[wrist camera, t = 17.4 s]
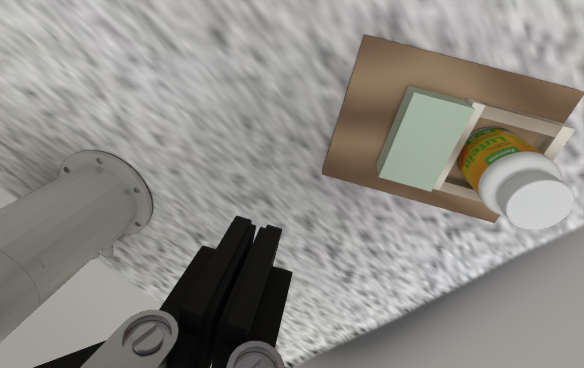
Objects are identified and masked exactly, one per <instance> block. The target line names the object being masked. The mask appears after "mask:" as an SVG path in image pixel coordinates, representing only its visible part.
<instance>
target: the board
mask: <svg viewBox="0 0 584 368" xmlns="http://www.w3.org/2000/svg"><path fill="white" fill-rule="evenodd" d="M408 86H412V87H416V88H420V89H424V90H427V91H431V92H435V93H439V94H442V95H446V96H450V97H454V98H457V99H461V100H464V101H465V102H467V103H468V104H469V105H471V106H472V107H474V108H475V110H474V112H473V114H472V116H471V118H470V120H469V122H468V124H467V125H466V127H465V129H464V131H463V133H462V135H461V137H460V139H459V141H458V142H457V144H456V146H455V148H454V150H453V152H452V154H451V156H450V157H449V159H448V161H447V163H446V165H445V167H444V169H443V171H442V173H441V174H440V176H439V178H438V180H437V182H436V184H435V186H434V188H433V189H432V191H431V192H430V191H427V190H423V189H420V188H416V187H412V186H409V185H405V184H402V183H398V182H395V181H391V180H387V179H384V178H380V177H379V175H378V169H377V161H378V159H379V156H380V154H381V152H382V149H383V147H384V144H385V142H386V139H387V137H388V134H389V132H390V129H391V127H392V124H393V122H394V119H395V117H396V114H397V112H398V109H399V107H400V104H401V102H402V100H403V97H404V95H405V92H406V90H407V87H408ZM583 95H584V92H583V91H580V90H576V89H573V88H569V87H565V86H561V85H557V84H553V83H550V82H546V81H542V80H538V79H534V78H530V77H527V76H523V75H519V74H515V73H511V72H507V71H503V70H500V69H496V68H492V67H488V66H484V65H480V64H477V63H473V62H469V61H465V60H461V59H457V58H453V57H450V56H446V55H442V54H438V53H434V52H430V51H427V50H423V49H419V48H415V47H411V46H407V45H403V44H400V43H396V42H392V41H388V40H384V39H380V38H377V37H373V36H369V35H365V34H364V37H363V40H362V43H361V47H360V50H359V53H358V56H357V60H356V63H355V66H354V69H353V73H352V76H351V79H350V82H349V86H348V89H347V92H346V95H345V99H344V102H343V105H342V108H341V112H340V115H339V118H338V121H337V125H336V128H335V131H334V134H333V138H332V141H331V144H330V147H329V151H328V154H327V157H326V160H325V163H324V167H323V170H322V174H323V175H326V176H330V177H333V178H337V179H340V180H344V181H348V182H351V183H355V184H358V185H362V186H365V187H369V188H372V189H376V190H379V191H383V192H387V193H390V194H394V195H397V196H401V197H404V198H408V199H411V200H415V201H418V202H422V203H426V204H429V205H433V206H436V207H440V208H443V209H447V210H450V211H454V212H457V213H461V214H465V215H468V216H472V217H475V218H479V219H482V220H486V221H489V222H493V223H495V222H496V220H497V219H498V217H499V216H500V214H497V213H495V212H493V211H491V210H490V209H489V208H488V207H487V206H486V205H485V204H484V203H483V202H482V200H481V199H480V197H479V196H478V195H477V193H476V192H475V190H474V189H473V187H472V186H471V185H470V183H469V182H468V181H467V179H466V178H465V176H464V175H463V174H462V172H461V171H460V169H459V167H458V165H457V162H456V159H457V157H458V155H459V153H460V152H461V150H462V148H463V146H464V144H465V142H466V141H467V139H468V137H469V135H470V134H471V133H473V132H475V131H477V130H479V129H482V128H486V127H500V128H504V129H507V130H509V131H511V132H513V133H514V134H516V135H517V136H518V137H520V138H521V139H522V140H524V141H525V142H527V143H528V144H530V145H531V146H533V147H534V148H536V149H537V150H539V151H540V152H541V153H543V154H544V155H545V156H547V157H548V158H550V159H551V160H552V161H553V160H554V159H555V157H556V156H557V154H558V153H559V152H560V150H561V149H562V147H563V146H564V145H565V143H566V142H567V141H568V139H569V138H570V136H571V135H572V134H573V132H574V131H575V130H576V129H574V128H572V127H569V126H567V125H565V124H564V122H565V121H566V120H567V118H568V117H569V115H570V114H571V112H572V111H573V110H574V108H575V107H576V105H577V104H578V102H579V101H580V99H581V98H582V97H583Z"/></svg>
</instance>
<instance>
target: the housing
mask: <svg viewBox="0 0 584 368" xmlns="http://www.w3.org/2000/svg"><path fill="white" fill-rule="evenodd" d="M474 110H475V108H474V107H472V106H471V105H469V104H468V103H467V102H465V101H464V100H461V99H457V98H454V97H450V96H446V95H442V94H439V93H435V92H431V91H427V90H424V89H420V88H416V87H412V86H408V87H407V90H406V92H405V95H404V97H403V100H402V102H401V104H400V107H399V109H398V112H397V114H396V117H395V119H394V122H393V124H392V127H391V129H390V132H389V134H388V137H387V139H386V142H385V144H384V147H383V149H382V152H381V154H380V156H379V159H378V161H377V169H378V175H379V177H380V178H384V179H387V180H391V181H395V182H398V183H402V184H405V185H409V186H412V187H416V188H420V189H423V190H427V191H430V192H431V191H432V189H433V188H434V186H435V184H436V182H437V180H438V178H439V176H440V174H441V173H442V171H443V169H444V167H445V165H446V163H447V161H448V159H449V157H450V156H451V154H452V152H453V150H454V148H455V146H456V144H457V142H458V141H459V139H460V137H461V135H462V133H463V131H464V129H465V127H466V125H467V124H468V122H469V120H470V118H471V116H472V114H473V112H474Z"/></svg>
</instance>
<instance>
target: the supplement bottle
mask: <svg viewBox="0 0 584 368" xmlns="http://www.w3.org/2000/svg"><path fill="white" fill-rule="evenodd" d="M456 162H457V165H458V167H459V169H460V171H461V172H462V174H463V175H464V176H465V178H466V179H467V181H468V182H469V183H470V185H471V186H472V187H473V189H474V190H475V192H476V193H477V195H478V196H479V197H480V199H481V200H482V202H483V203H484V204H485V205H486V206H487V207H488V208H489V209H490V210H491V211H493V212H495V213H497V214H500V215H503V216H506V217H507V218H508V219H509V220H510V221H511V222H512V223H513V224H514V225H516V226H518V227H521V228H524V229H542V228H546V227H549V226H552V225H554V224H556V223H558V222H560V221H561V220H562V219H564V218H565V217H566V216H567V215H568V213H569V212H570V211H571V209H572V206H573V203H574V197H573V193H572V191H571V190H570V188H569V187H568V186H567V185H566V184H564V183H563V182H562V175H561V172H560V170H559V168H558V167H557V165H556V164H555V163H554V162H553V161H552V160H551V159H550V158H548V157H547V156H545V155H544V154H543V153H541V152H540V151H539V150H537V149H536V148H534V147H533V146H531V145H530V144H528V143H527V142H525V141H524V140H522V139H521V138H520V137H518V136H517V135H516V134H514V133H513V132H511V131H509V130H507V129H504V128H500V127H486V128H482V129H479V130H477V131H475V132H473V133H471V134H470V135H469V137H468V139H467V141H466V142H465V144H464V146H463V148H462V150H461V152H460V153H459V155H458V157H457V159H456Z"/></svg>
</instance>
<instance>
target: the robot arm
mask: <svg viewBox="0 0 584 368" xmlns="http://www.w3.org/2000/svg"><path fill="white" fill-rule="evenodd" d="M151 213H152V202H151V197H150V194H149V192H148V189H147V187H146V185H145V184H144V182H143V181H142V179H141V178H140V177H139V175H138V174H137V173H136V172H135V171H134V170H133V169H132V168H131V167H130V166H129V165H127V164H126V163H124V162H123V161H121V160H120V159H118V158H116V157H114V156H112V155H110V154H107V153H104V152H100V151H93V150H92V151H83V152H79V153H77V154H75V155H73V156H71V157H69V158H68V159H67V160H65V161H64V163H63V164H62V166H61V169H60V172H59V178H57V179H56V180H54V181H52V182H50V183H48V184H46V185H44V186H42V187H41V188H39V189H37V190H35V191H33V192H31V193H29V194H28V195H26V196H24V197H22V198H20V199H18V200H16V201H15V202H13V203H11V204H9V205H7V206H5V207H3V208H1V209H0V342H2V341H3V340H4V339H5V338H6V337H7V336H8V335H9V334H10V333H11V332H12V331H13V330H14V329H15V328H16V327H17V326H19V325H20V324H21V322H23V321H24V320H25V319H26V318H27V317H28V316H29V315H31V314H32V313H33V312H34V311H35V310H36V309H37V308H38V307H39V306H40V305H41V304H43V303H44V302H45V301H46V300H47V299H48V298H49V297H50V296H51V295H53V294H54V293H55V292H56V291H57V290H58V289H59V288H60V287H61V286H62V285H63V284H65V283H66V282H67V281H68V280H69V279H70V278H71V277H72V276H73V275H74V274H75V273H76V272H77V271H79V270H80V269H81V268H82V267H83V266H84V265H85V264H86V263H87V262H89V261H90V260H92V259H95V258H97V257H98V256H99V255H100V251H101V250H102V255H103V256H104V257H110V256H112V255H113V245H112V244H113V243H114V242H115V241H116V240H117V239H118V238H119V237H120V236H127V235H132V234H134V233H137V232H138V231H139V230H141V229H142V228H143V227H144V226H145V225H146V224H147V223H148V221H149V219H150V217H151ZM251 223H252V220H250V219H247V218H243V217H240V216H236V217H235V218H234V220H233V222H232V223H231V225H230V227H229V228H228V230H227V232H226V233H225V235H224V237H223V238H222V240H221V242H220V243H219V245H218V247H217V248H216V249H213V248H210V247H207V246H202V247H201V248H200V250H199V251H198V252H197V254H196V255H195V257H194V258H193V260H192V261H191V263H190V264H189V266H188V267H187V269H186V270H185V272H184V273H183V275H182V276H181V278H180V279H179V281H178V282H177V284H176V285H175V287H174V288H173V290H172V291H171V293H170V294H169V296H168V297H167V299H166V300H165V302H164V303H163V305H162V306H161V308H160V309H159V310H147V311H143V312H140V313H138V314H135V315H134V316H131V317H130V318H129V319H128V320H126V321H125V322H124V323H123V324H122V325H121V326H120V327H119V328H118V329H117V330H116V331H115V332H114V333H113V334H112V336H110V337H109V338H108V340H106V341H103V342H100V343H98V344H95V345H92V346H90V347H87V348H84V349H82V350H79V351H76V352H74V353H71V354H68V355H66V356H63V357H61V358H58V359H55V360H52V361H50V362H47V363H44V364H42V365H39V366H36V367H34V368H210V366H211V363H212V367H211V368H284V363H283V360H282V358H281V355H280V354H279V353H278V352H277V350H276V349H275V345H276V341H277V337H278V332H279V328H280V324H281V320H282V315H283V311H284V307H285V303H286V298H287V294H288V290H289V286H290V282H291V277H292V272H291V271H287V270H284V269H281V268H277V267H274V266H273V263H274V259H275V255H276V251H277V248H278V244H279V240H280V236H281V232H282V229H281V228H277V227H274V226H271V225H267V227H266V228H263V227H260V229H259V231H258V233H257V235H256V238H255V240H254V235H255V230H256V225H252V224H251ZM253 240H254V242H253Z"/></svg>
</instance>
